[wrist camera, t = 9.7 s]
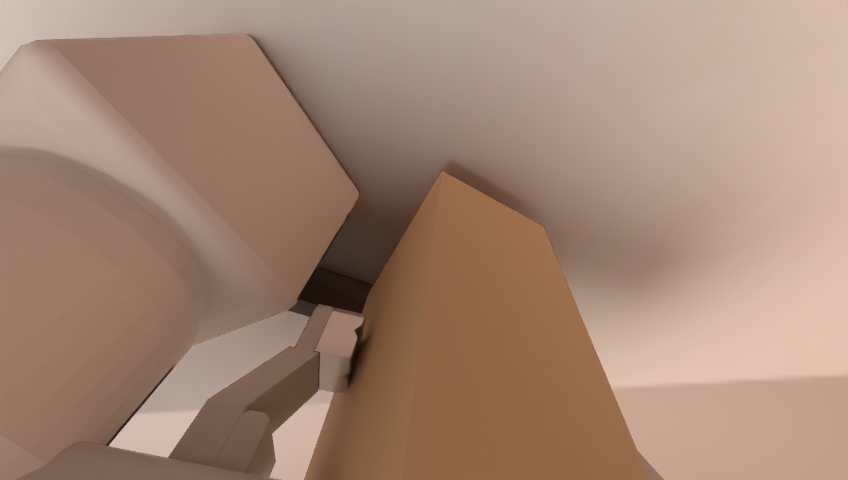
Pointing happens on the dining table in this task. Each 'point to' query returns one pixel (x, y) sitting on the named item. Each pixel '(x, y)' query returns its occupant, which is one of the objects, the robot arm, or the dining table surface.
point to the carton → (474, 361)
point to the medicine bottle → (143, 222)
